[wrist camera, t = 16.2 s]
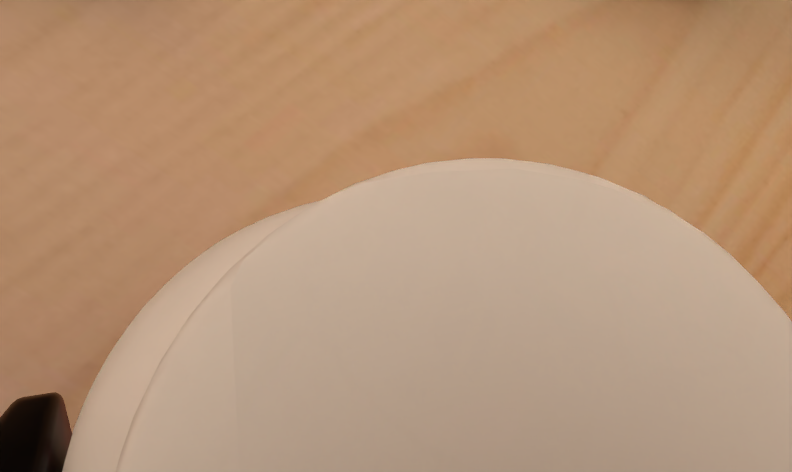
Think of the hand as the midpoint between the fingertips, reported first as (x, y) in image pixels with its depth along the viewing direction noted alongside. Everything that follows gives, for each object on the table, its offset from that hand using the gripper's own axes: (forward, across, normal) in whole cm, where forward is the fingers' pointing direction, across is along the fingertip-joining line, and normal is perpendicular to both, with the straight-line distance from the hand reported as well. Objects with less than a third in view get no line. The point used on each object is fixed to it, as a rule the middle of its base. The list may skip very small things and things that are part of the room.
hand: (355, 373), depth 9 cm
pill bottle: (+4, 0, +6) cm, 7 cm away
